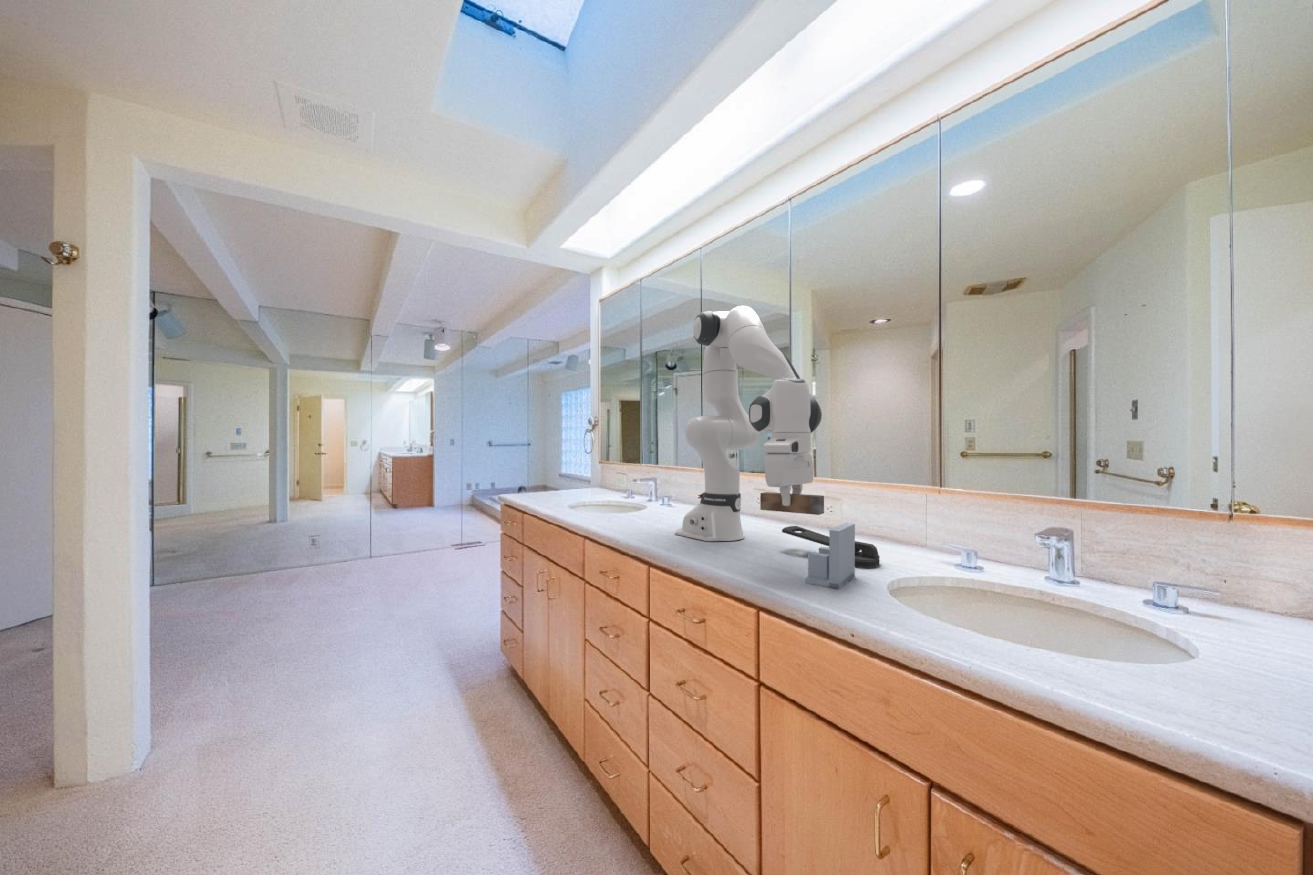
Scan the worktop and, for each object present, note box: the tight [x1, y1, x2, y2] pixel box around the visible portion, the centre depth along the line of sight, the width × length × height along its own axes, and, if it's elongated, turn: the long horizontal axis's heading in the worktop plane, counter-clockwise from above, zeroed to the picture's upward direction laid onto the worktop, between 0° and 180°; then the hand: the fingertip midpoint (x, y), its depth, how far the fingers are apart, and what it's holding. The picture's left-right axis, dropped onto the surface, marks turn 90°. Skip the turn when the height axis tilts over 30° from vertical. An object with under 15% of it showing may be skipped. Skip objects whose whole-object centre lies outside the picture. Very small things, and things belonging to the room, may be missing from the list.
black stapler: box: [781, 525, 880, 570], centre depth 122 cm, size 9×7×25 cm
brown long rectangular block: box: [759, 491, 825, 516], centre depth 107 cm, size 14×4×4 cm, turn 52°
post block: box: [805, 522, 856, 590], centre depth 102 cm, size 7×12×12 cm, turn 142°
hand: (791, 504), depth 107 cm, fingers closed on brown long rectangular block, 3 cm apart
